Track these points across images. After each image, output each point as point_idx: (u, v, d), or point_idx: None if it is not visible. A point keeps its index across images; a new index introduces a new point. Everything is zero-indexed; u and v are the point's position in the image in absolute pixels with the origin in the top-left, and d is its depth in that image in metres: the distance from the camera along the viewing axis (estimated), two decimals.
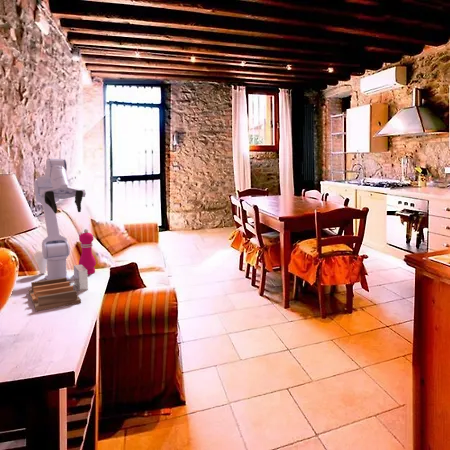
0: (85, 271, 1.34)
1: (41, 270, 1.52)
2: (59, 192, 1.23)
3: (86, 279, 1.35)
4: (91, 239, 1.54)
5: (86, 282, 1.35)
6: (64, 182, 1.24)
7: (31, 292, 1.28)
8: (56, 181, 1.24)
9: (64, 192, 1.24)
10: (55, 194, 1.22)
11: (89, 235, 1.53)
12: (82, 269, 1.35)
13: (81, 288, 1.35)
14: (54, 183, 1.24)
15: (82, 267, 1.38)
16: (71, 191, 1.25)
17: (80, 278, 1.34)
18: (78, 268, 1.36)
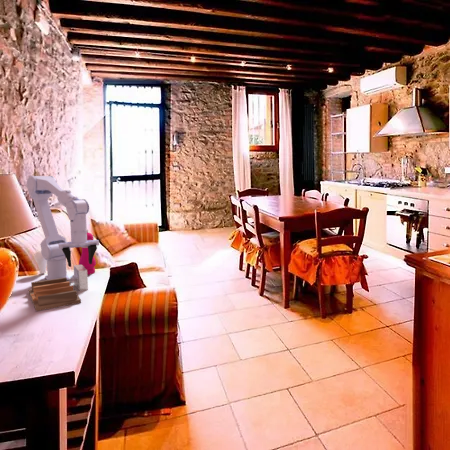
0: (85, 271, 1.34)
1: (41, 270, 1.52)
2: None
3: (86, 279, 1.35)
4: (91, 239, 1.54)
5: (86, 282, 1.35)
6: (82, 238, 1.34)
7: (31, 292, 1.28)
8: (75, 235, 1.33)
9: None
10: (72, 246, 1.34)
11: (89, 235, 1.53)
12: (82, 269, 1.35)
13: (81, 288, 1.35)
14: (73, 236, 1.33)
15: (82, 267, 1.38)
16: None
17: (80, 278, 1.34)
18: (78, 268, 1.36)
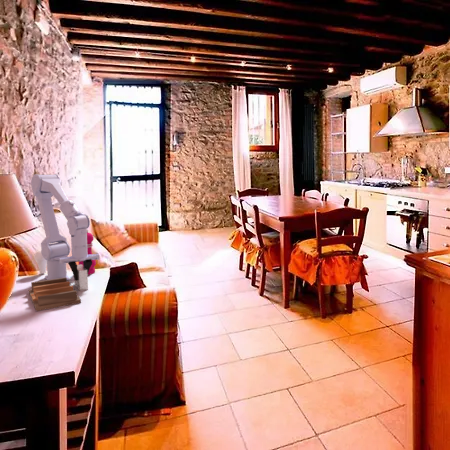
0: (85, 271, 1.34)
1: (41, 270, 1.52)
2: None
3: (86, 279, 1.35)
4: (91, 239, 1.54)
5: (86, 282, 1.35)
6: (82, 253, 1.35)
7: (31, 292, 1.28)
8: (75, 250, 1.34)
9: None
10: (72, 261, 1.35)
11: (89, 235, 1.53)
12: (82, 269, 1.35)
13: (81, 288, 1.35)
14: (73, 251, 1.34)
15: (82, 267, 1.38)
16: (87, 258, 1.38)
17: (80, 278, 1.34)
18: (78, 268, 1.36)
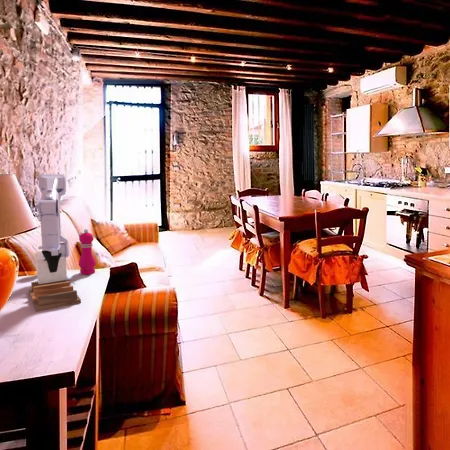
0: (37, 263, 1.21)
1: None
2: None
3: (38, 272, 1.22)
4: (91, 239, 1.54)
5: (38, 275, 1.22)
6: (42, 241, 1.21)
7: (31, 292, 1.28)
8: None
9: None
10: None
11: (89, 235, 1.53)
12: (41, 260, 1.22)
13: None
14: None
15: None
16: None
17: None
18: None
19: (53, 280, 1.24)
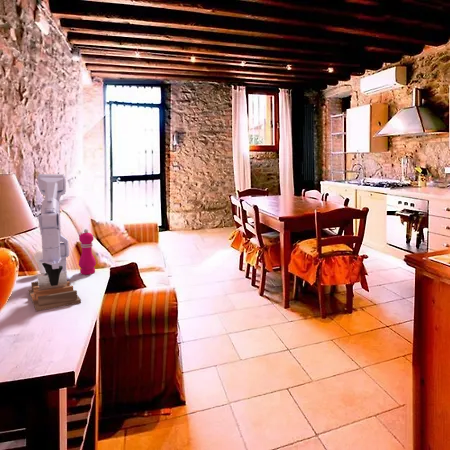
0: (38, 277, 1.22)
1: (41, 270, 1.52)
2: None
3: (39, 286, 1.22)
4: (91, 239, 1.54)
5: (39, 289, 1.23)
6: (43, 254, 1.22)
7: (31, 292, 1.28)
8: None
9: None
10: None
11: (89, 235, 1.53)
12: (42, 274, 1.23)
13: None
14: None
15: None
16: None
17: (38, 282, 1.24)
18: None
19: None
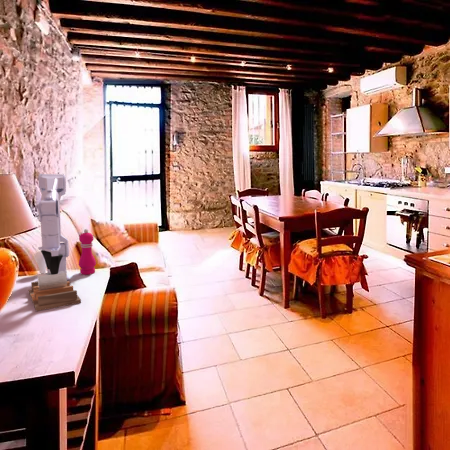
0: (38, 277, 1.22)
1: (41, 270, 1.52)
2: None
3: (39, 286, 1.22)
4: (91, 239, 1.54)
5: (39, 289, 1.23)
6: (42, 242, 1.21)
7: (31, 292, 1.28)
8: None
9: None
10: None
11: (89, 235, 1.53)
12: (42, 274, 1.23)
13: None
14: None
15: None
16: None
17: (38, 282, 1.24)
18: (49, 273, 1.26)
19: None
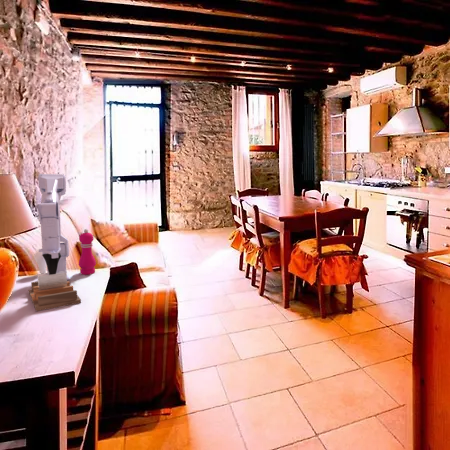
0: (38, 277, 1.22)
1: (41, 270, 1.52)
2: None
3: (39, 286, 1.22)
4: (91, 239, 1.54)
5: (39, 289, 1.23)
6: (42, 244, 1.22)
7: (31, 292, 1.28)
8: None
9: None
10: None
11: (89, 235, 1.53)
12: (42, 274, 1.23)
13: None
14: None
15: (52, 274, 1.25)
16: None
17: (38, 282, 1.24)
18: None
19: None
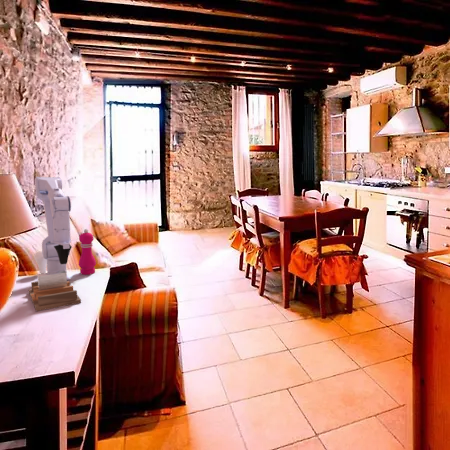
0: (38, 277, 1.22)
1: (41, 270, 1.52)
2: None
3: (39, 286, 1.22)
4: (91, 239, 1.54)
5: (39, 289, 1.23)
6: (54, 236, 1.30)
7: (31, 292, 1.28)
8: None
9: None
10: None
11: (89, 235, 1.53)
12: (42, 274, 1.23)
13: None
14: None
15: (52, 274, 1.25)
16: None
17: (38, 282, 1.24)
18: (49, 273, 1.26)
19: None
